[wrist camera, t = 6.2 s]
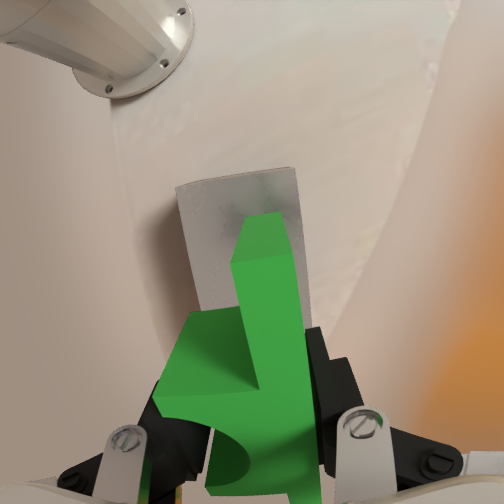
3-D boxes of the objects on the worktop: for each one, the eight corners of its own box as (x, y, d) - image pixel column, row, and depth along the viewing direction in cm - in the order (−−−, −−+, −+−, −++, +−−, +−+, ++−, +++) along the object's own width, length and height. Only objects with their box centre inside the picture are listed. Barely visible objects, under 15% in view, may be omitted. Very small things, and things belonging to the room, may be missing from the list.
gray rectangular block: (194, 181, 26) (175, 187, 20) (288, 167, 25) (294, 168, 19) (223, 326, 30) (214, 363, 24) (305, 316, 29) (313, 352, 23)
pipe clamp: (168, 231, 10) (103, 282, 6) (280, 210, 10) (293, 250, 5) (238, 450, 13) (230, 526, 9) (313, 442, 13) (323, 519, 8)
